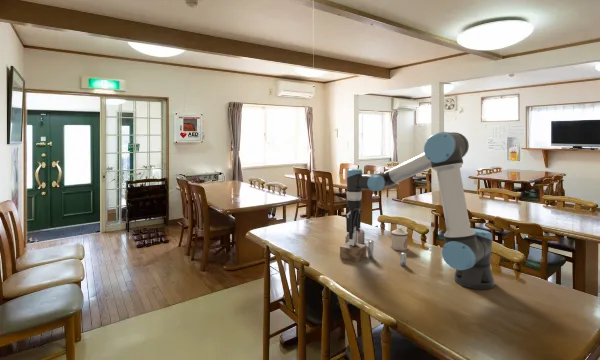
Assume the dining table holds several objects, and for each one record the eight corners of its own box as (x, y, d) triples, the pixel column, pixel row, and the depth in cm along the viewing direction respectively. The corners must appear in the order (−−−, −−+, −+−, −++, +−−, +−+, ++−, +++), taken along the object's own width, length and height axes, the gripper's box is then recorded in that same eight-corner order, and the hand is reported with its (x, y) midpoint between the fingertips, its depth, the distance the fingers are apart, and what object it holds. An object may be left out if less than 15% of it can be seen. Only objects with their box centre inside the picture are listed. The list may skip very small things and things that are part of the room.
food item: (357, 250, 185) (358, 232, 184) (344, 248, 189) (344, 231, 188) (365, 243, 197) (366, 227, 196) (352, 241, 201) (353, 225, 200)
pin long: (356, 254, 175) (356, 226, 173) (354, 255, 173) (354, 227, 171) (352, 253, 176) (352, 225, 174) (349, 254, 174) (350, 226, 172)
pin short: (406, 265, 163) (407, 253, 163) (404, 266, 161) (405, 254, 161) (401, 263, 165) (401, 252, 164) (399, 265, 163) (399, 253, 162)
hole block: (366, 256, 176) (366, 245, 175) (357, 261, 168) (357, 250, 167) (349, 252, 182) (349, 241, 181) (339, 257, 174) (340, 246, 173)
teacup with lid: (407, 251, 182) (408, 230, 181) (390, 249, 186) (390, 229, 184) (408, 244, 194) (409, 225, 192) (392, 243, 197) (392, 223, 195)
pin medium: (374, 257, 173) (374, 240, 172) (371, 259, 171) (372, 242, 170) (369, 256, 175) (369, 239, 174) (367, 258, 173) (367, 241, 172)
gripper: (354, 196, 179) (354, 238, 182) (339, 201, 166) (339, 246, 169) (367, 197, 175) (366, 241, 178) (353, 202, 162) (352, 249, 165)
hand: (353, 243), depth 174 cm, fingers open, 3 cm apart
